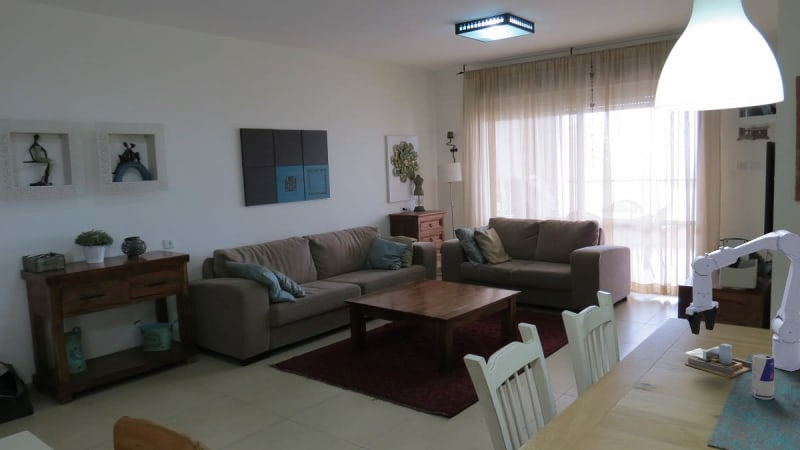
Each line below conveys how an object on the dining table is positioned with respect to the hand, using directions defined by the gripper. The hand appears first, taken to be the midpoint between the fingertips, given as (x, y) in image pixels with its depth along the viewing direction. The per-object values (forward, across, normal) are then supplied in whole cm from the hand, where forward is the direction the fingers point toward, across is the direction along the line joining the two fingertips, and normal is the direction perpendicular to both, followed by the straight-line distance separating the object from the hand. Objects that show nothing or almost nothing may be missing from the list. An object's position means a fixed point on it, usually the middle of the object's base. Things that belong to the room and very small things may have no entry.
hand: (702, 331), depth 195 cm
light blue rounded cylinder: (+10, 0, +8) cm, 13 cm away
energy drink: (+11, +13, +27) cm, 32 cm away
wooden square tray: (+10, 0, +6) cm, 12 cm away
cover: (+8, 0, 0) cm, 8 cm away
